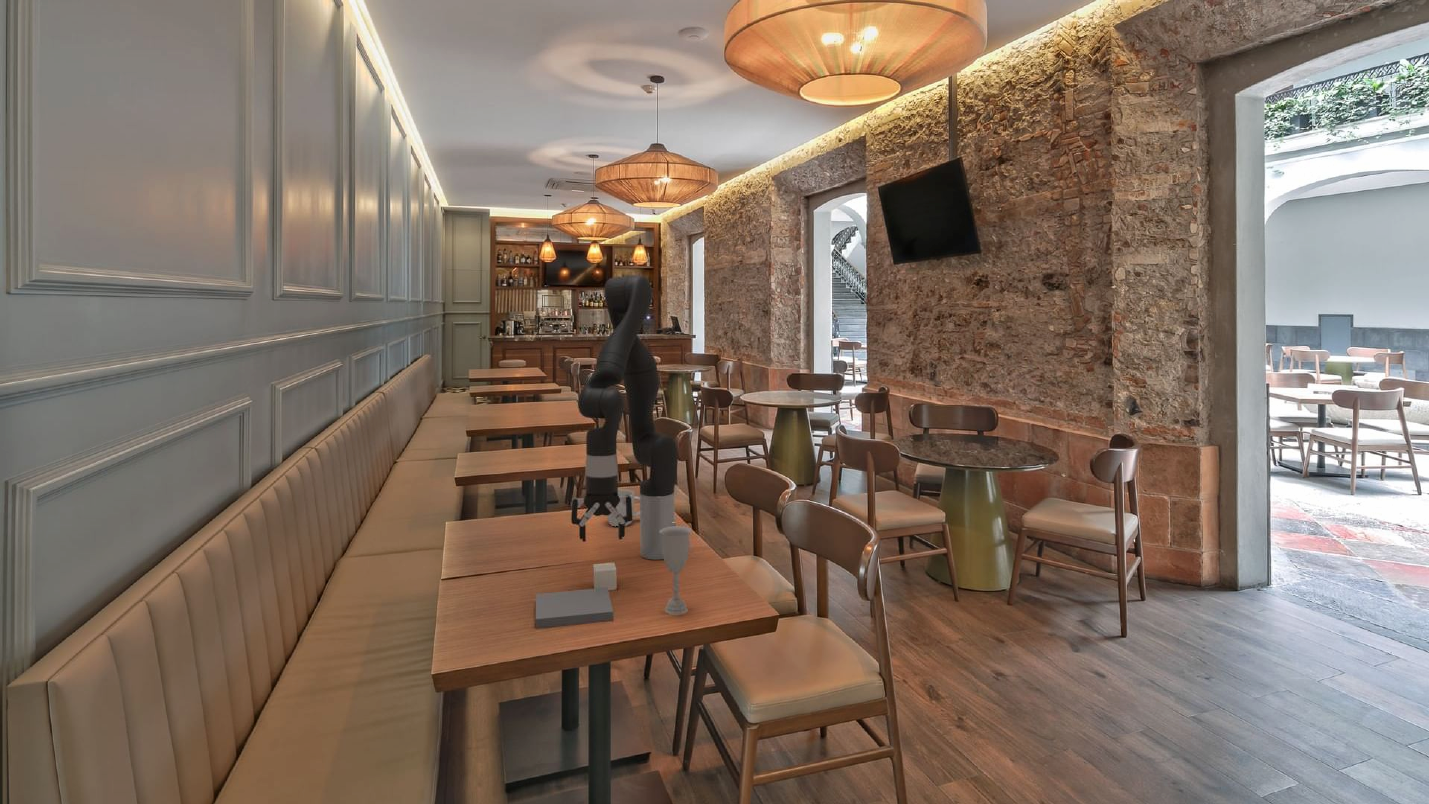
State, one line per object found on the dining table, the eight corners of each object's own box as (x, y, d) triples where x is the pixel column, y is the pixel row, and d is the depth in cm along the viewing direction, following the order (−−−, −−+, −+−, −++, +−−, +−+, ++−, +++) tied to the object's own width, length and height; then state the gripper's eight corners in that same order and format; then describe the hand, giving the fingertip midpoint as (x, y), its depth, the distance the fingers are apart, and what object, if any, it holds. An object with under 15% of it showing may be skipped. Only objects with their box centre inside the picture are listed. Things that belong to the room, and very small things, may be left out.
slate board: (607, 595, 166) (607, 587, 166) (613, 620, 152) (613, 611, 152) (536, 602, 162) (536, 594, 162) (536, 628, 149) (535, 619, 148)
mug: (612, 530, 217) (612, 498, 216) (601, 523, 225) (600, 491, 224) (650, 523, 224) (649, 492, 223) (638, 517, 232) (637, 486, 230)
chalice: (679, 619, 153) (678, 537, 151) (653, 612, 156) (652, 532, 154) (698, 607, 159) (697, 529, 157) (673, 601, 162) (672, 524, 160)
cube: (614, 582, 175) (614, 562, 174) (616, 589, 170) (616, 569, 169) (593, 584, 174) (593, 564, 173) (595, 591, 169) (594, 571, 168)
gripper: (630, 468, 174) (630, 533, 176) (570, 470, 171) (571, 536, 172) (633, 474, 167) (633, 542, 168) (571, 477, 163) (572, 546, 165)
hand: (602, 539), depth 170 cm, fingers open, 8 cm apart
